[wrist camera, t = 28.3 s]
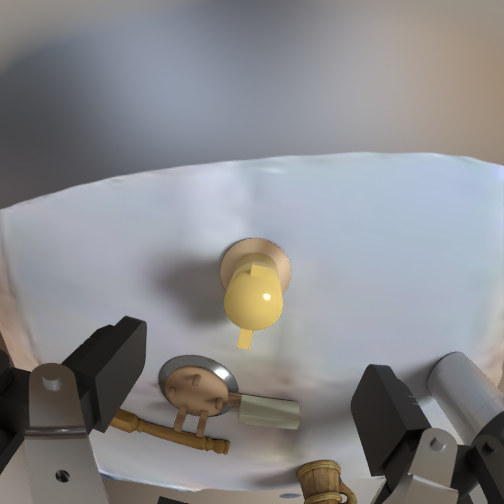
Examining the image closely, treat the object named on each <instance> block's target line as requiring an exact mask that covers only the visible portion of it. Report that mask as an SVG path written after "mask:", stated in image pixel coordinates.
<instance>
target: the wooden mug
mask: <svg viewBox="0 0 504 504" xmlns="http://www.w3.org/2000/svg"><path fill="white" fill-rule="evenodd" d="M340 474H341V468H340V466H339V465H338V464H337V463H336V462H334V461H329V460H320V461H315V462H311V463H308V464H306V465H304V466H302V467H301V468H300V469H299V470H298V471H297V477H298V481H299V482H300V484H301V488H302V492H303V496H304V499H305V502H304V504H357V500H356V497H355V495H354V493H353V492H352V491H351V490H350V489H349V488H348V487H347V486H345V484H344V483H343V482H342V480H341V478H340ZM340 494H344V495H346V496H347V501H346V502H345V503H341V501H342V497H341V495H340Z"/></svg>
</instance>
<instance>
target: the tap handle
mask: <svg viewBox="0 0 504 504" xmlns="http://www.w3.org/2000/svg"><path fill="white" fill-rule="evenodd" d="M109 425H110V426H113V427H115V428H118V429H121V430H123V431H126V432H129V433H131V432H133V431H135V430H137V431H138V432H140V433H141V432H145V433H148V434H151V435H153V436H156V437H159V438H162V439H165V440H169V441H172V442H175V443H178V444H182V445H185V446H189V447H192V448H196V449H200V450H204V449H205V450H206V451H208V450H213V451H214V452H216V453H219V454H221V453H223V454H225V455H226V454H228V450H229V444H230V442H229V441H226V442H225V441H224V440H221V439H218V440H212V439H211V437H208V438H207V437H205V436H203V437H199V436H196V434H192V433H187V432H182V431H181V432H178V431H174V429H169V428H165V427H161V426H158V425H154V424H150V423H147V422H144V420H142V419H141V420H139V419H138V418H137V416H136V415H135V414H133V413H130V412H127V411H125V410H122V409H119V410H118V411H117V413H116V415H115V416H114V418H113V420H112V421H111V423H110V424H109Z"/></svg>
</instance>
